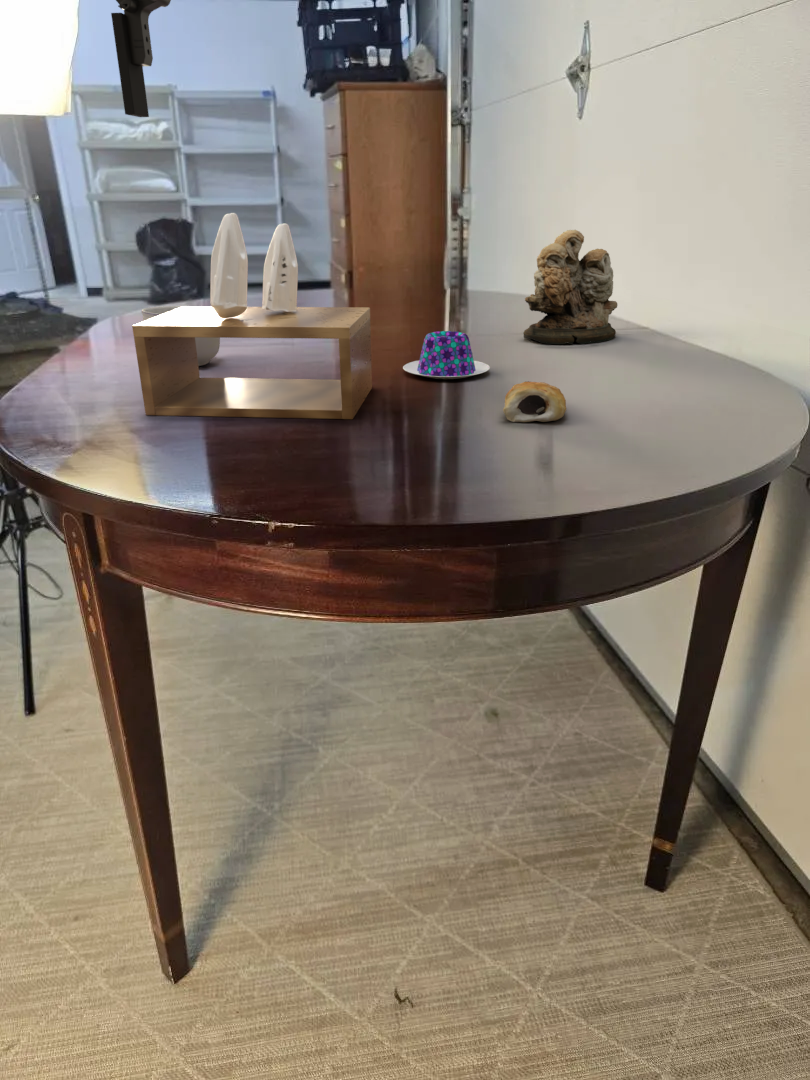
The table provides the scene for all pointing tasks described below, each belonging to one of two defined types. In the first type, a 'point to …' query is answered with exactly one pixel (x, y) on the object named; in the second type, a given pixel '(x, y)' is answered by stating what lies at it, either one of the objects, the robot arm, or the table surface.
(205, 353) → the teacup
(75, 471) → the table surface
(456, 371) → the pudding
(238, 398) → the shelf
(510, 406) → the pastry
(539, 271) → the owl figurine
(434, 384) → the table surface
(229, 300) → the shaker set
